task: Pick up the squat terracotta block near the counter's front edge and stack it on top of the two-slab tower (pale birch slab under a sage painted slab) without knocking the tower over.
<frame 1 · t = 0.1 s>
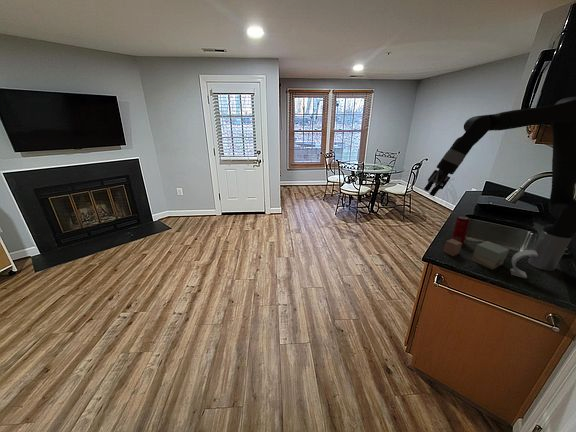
hand: (428, 192, 112), 31 cm above the counter, tool tilted 20°, fingers open, 8 cm apart
beverage can: (456, 241, 134), on the counter
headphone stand: (516, 273, 106), on the counter
tower top: (489, 255, 112), point 4 cm above the counter
terracotta block: (450, 252, 122), on the counter
tower bottom: (486, 262, 114), on the counter
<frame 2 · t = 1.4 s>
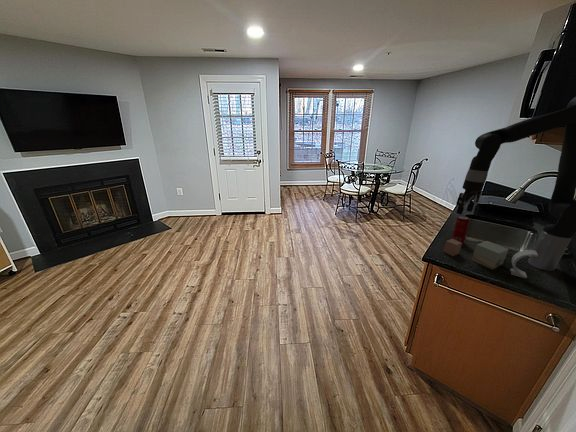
hand: (464, 212, 113), 23 cm above the counter, tool pointing down, fingers open, 8 cm apart
tower top: (489, 254, 112), point 4 cm above the counter, touching tower bottom
tower bottom: (486, 262, 114), on the counter, touching tower top
everything else where it was.
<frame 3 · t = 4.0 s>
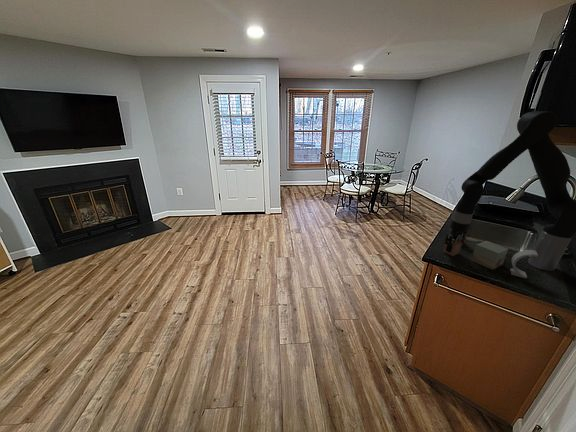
hand: (451, 250, 121), 1 cm above the counter, tool pointing down, fingers closed on terracotta block, 5 cm apart
terracotta block: (450, 252, 122), on the counter, touching gripper
everything else where it was.
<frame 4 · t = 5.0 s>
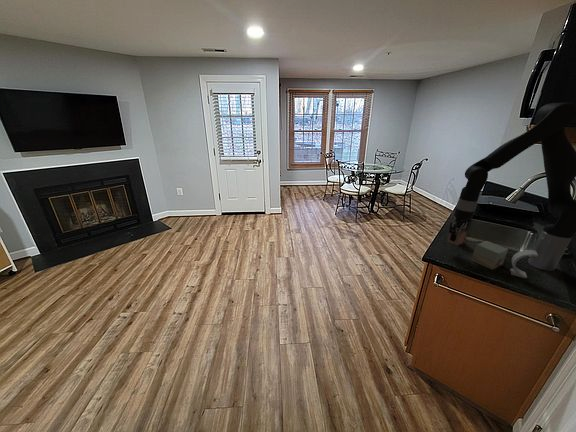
hand: (455, 239, 119), 8 cm above the counter, tool pointing down, fingers closed on terracotta block, 5 cm apart
terracotta block: (454, 242, 119), point 6 cm above the counter, touching gripper
everything else where it was.
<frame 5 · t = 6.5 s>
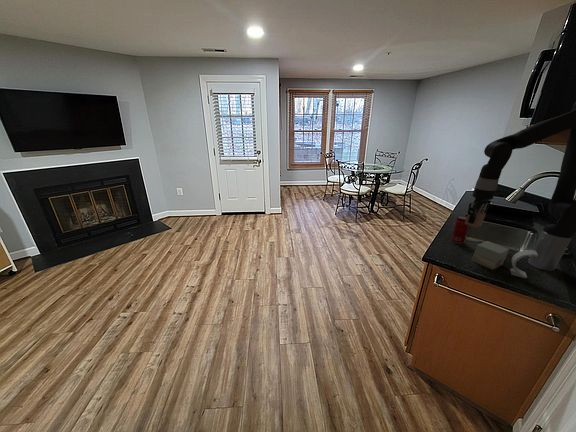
hand: (474, 221, 112), 19 cm above the counter, tool pointing down, fingers closed on terracotta block, 5 cm apart
tower top: (489, 255, 112), point 4 cm above the counter
terracotta block: (472, 224, 113), point 17 cm above the counter, touching gripper
tower bottom: (486, 263, 114), on the counter
everything else where it was.
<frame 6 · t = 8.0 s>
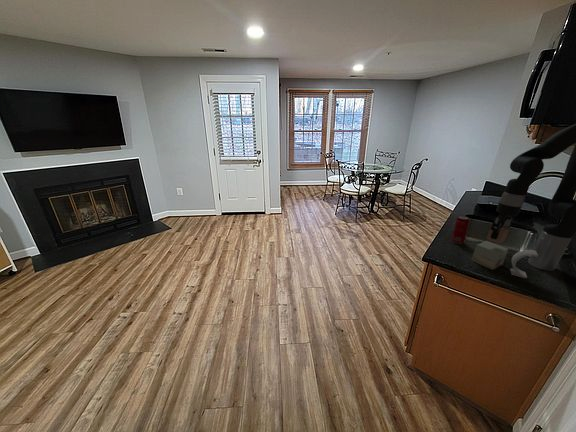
hand: (496, 237, 109), 14 cm above the counter, tool pointing down, fingers closed on terracotta block, 5 cm apart
tower top: (489, 254, 112), point 4 cm above the counter, touching tower bottom
terracotta block: (495, 240, 109), point 12 cm above the counter, touching gripper
tower bottom: (486, 263, 114), on the counter, touching tower top
everything else where it was.
when the fingers open (11 cm above the counter, at t = 9.5 s): terracotta block moves 1 cm, resting on tower top.
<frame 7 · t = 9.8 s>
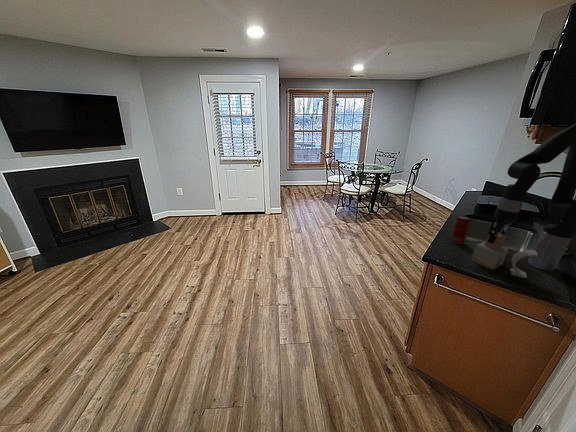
hand: (494, 241, 110), 12 cm above the counter, tool pointing down, fingers open, 7 cm apart
tower top: (488, 254, 112), point 4 cm above the counter, touching terracotta block, tower bottom
terracotta block: (492, 246, 111), point 9 cm above the counter, touching tower top
everything else where it was.
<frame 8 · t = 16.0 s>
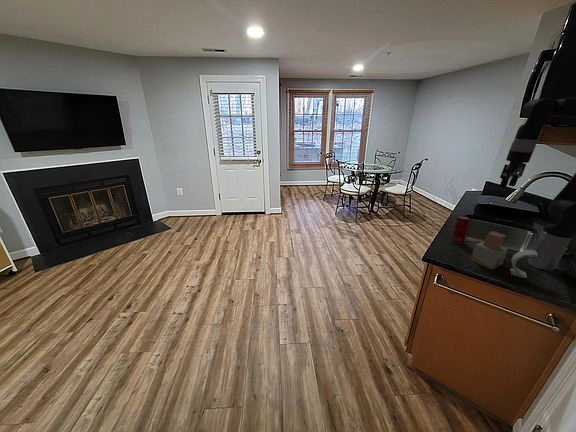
hand: (506, 186, 107), 36 cm above the counter, tool pointing down, fingers open, 8 cm apart
nothing on the counter moved.
at the end: terracotta block 0.3 cm off-centre on the tower top, point 4.5 cm above the tower top's base; tower top 0.2 cm off-centre on the tower bottom, point 4.5 cm above the tower bottom's base; terracotta block tilted 0° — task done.
